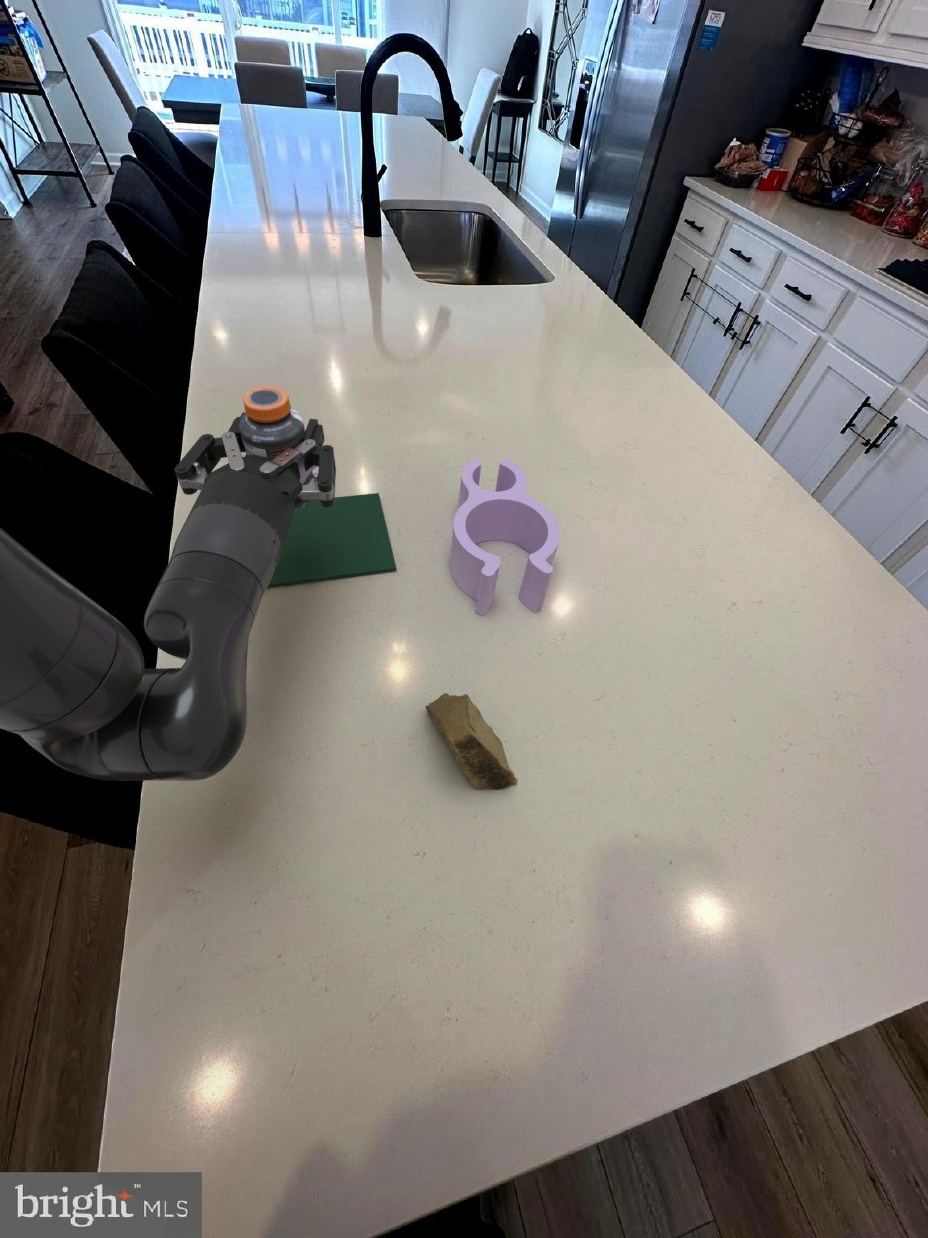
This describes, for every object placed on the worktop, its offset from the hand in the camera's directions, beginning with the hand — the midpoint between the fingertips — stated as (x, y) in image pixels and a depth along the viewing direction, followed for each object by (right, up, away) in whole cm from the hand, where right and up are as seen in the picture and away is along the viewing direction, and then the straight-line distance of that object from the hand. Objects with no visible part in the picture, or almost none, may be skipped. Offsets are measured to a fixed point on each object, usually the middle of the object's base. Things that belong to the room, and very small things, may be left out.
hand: (282, 423), depth 56 cm
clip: (+22, -11, +16) cm, 30 cm away
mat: (-1, -10, +15) cm, 18 cm away
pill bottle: (-1, -6, +4) cm, 7 cm away
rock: (+19, -32, 0) cm, 37 cm away
